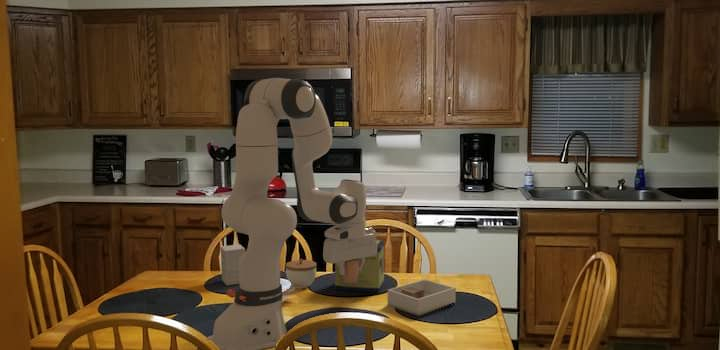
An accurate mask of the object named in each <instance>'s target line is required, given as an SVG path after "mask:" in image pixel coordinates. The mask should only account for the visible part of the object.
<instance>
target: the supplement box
mask: <svg viewBox="0 0 720 350" xmlns="http://www.w3.org/2000/svg"><path fill="white" fill-rule="evenodd" d="M245 252H246V248H245V247H243V245H241V243H240V244H231V245H223V246H222V245H220V260H221V261H220V262H221V265H220V266H221V281H222V282H223V283H224V284H225V285H226V286H232V285H240V280H239V259H240V257H241V256H242V255H243V254H244V253H245Z"/></svg>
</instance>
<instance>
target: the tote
mask: <svg viewBox="0 0 720 350" xmlns="http://www.w3.org/2000/svg"><path fill="white" fill-rule="evenodd" d="M412 286H413V287H417V288H420V289H423V290H424V297H422V298H419V299H417V298H414V297H411V296H408V295H405V294H402V289H405V288H408V287H412ZM456 290H457V289H456V287H454V286H452V285H451V286H450V285H447V284H443V283H440V282H436V281H433V280H429V279H427V278H426V279H425V278H424V279H421V280H417V281H414V282H410V283H406V284H403V285H400V286H396V287H392V288H389V289H387V306H389V307H392V308H394V309H397V310H400V311H403V312H406V313H408V314H412V315H415V316H418V317H419V316H422V315H425V314H428V313H430V312H433V311H436V309H437V310H439V308H440V309H442V308H441V307H443V308H445V307H444V306H446V307H448V306H447V305H449V304H451V305H453V304H452V303H454V304H456V297H457V296H456ZM449 306H450V305H449Z"/></svg>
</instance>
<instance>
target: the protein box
mask: <svg viewBox="0 0 720 350" xmlns="http://www.w3.org/2000/svg"><path fill="white" fill-rule="evenodd" d="M334 269H335V271H334V289H337V290H336V291H349V290H352V291H353V292H364V291H368V292H367V293H369V292H370V293H380V291H381V290H382V288H383V286H384V284H385V240H377V254H376V255H375V256H370V257H365V261H364V263H363V265H362V271H361V272H359V277H358V282H357V283H344V282H343V275H340V269H339V267H338V265H337V263H334ZM352 291H351V292H352Z"/></svg>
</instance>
